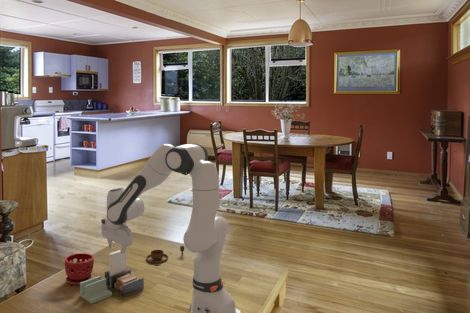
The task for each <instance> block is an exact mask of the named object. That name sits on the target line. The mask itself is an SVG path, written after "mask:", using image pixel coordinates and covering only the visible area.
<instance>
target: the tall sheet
mask: <svg viewBox="0 0 470 313" xmlns="http://www.w3.org/2000/svg"><path fill="white" fill-rule="evenodd" d="M108 264H109V265H108V270H109V276H112V275H115V274H118V273H120V272H123V271H126V270H127V251H126V252H125V253H124V254H122V253H121V251H120V249H118V250H116V251H112V252H110V253H108Z"/></svg>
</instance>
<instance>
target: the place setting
mask: <svg viewBox="0 0 470 313" xmlns="http://www.w3.org/2000/svg"><path fill="white" fill-rule="evenodd" d="M179 250H180V252H181V257H183V256H184V252H185V245H180V246H179ZM170 255H172V253H171V252H170ZM163 257H165V259H163ZM149 259H152V260H149ZM162 259H163V260H162ZM168 259H169V256H168V254H166V253H164V250H162V249H154V250H151V251H150V254H149V255H147V256H146V261H147V262H148V265H149V266H160V265H161V264H162V263H164V262H166V261H168ZM150 263H151V264H150Z"/></svg>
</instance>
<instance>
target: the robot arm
mask: <svg viewBox="0 0 470 313" xmlns="http://www.w3.org/2000/svg"><path fill="white" fill-rule="evenodd" d="M208 152H209V151H208V150H207V148H206V147H205V146H203V145H202V144H200V143H192V144H191V143H185V144H180V145H175V146H174V145H172V144H170V143H163V144H161V145H160V146H158V148H157V149H156V150H155V151H153V153H152V154H151V156H150V157H149V158H148V160H147V162H146V163H145V165H144V166H143V167H142V168H141V170H140V171H139V173H138V174H137V175H135V177H134V178H133V180H131V182H130V183H129V184H128V185H127V186H126V188H124V187H117V188H113V189H110V190H109V191H108V192H107V195H106V217H104V218H101V219H100V222H101V223H100V224H101V235H102V237H103V238H105V239H107V244H108V249H109V248H110V249H114V247H115V246H114V243H116V244H119V245H121V249H119V250H120V251H121V253H122V254H124V253H125V252H126V253H127V247H130V246H132V245H133V243H134V240H133V231H132V230H131V229H130V226H129V225H127V224H128V223H127V222H129V221H132V220H134V219H137V218H138V217H140V216H142V215H143V214H144V211H145V203H144V201H143V200H142V199H141V198H140V196H141V195H142V194H144V193H145V192H147V191H149V190H151V189H153V188H156V187H158V186H160V185H162V184H163V183H164V182H165V181H166V180H167V179H168V178H169V176H170V175H171V173H172V172H175V173H178V174H181V175H184V176H188V175H190V177H191V185H192V187H191V188H192V190H191V191H192V210H191V215H190V220H189V222H188V227H187V229H186V231H185V232H184V234H183V239H182V240H183V244H184V245H183V246H184V247H185V248H186V250H188V251H189V252H191V253H196V255H195V257H194V259H193V276H192V288H193V289H192V297H191V302H190V306H189V313H242V312H241V310H240V309H238V308H236V302H235V300H234V299H235V298H233V297H232V295H231V293H229V292H228V290H227V289H226V288H225V287H224V285H225V281H222V280H223V279H222V277H221V259H222V253H223V249H224V246H225V245H224V244H225V241H226V238H227V236H228V234H229V231H230V224H229V222H228V220H227V219H226V218H225V217H223V216H220V215H217V212H218V211H219V208H220V204H221V203H220V199H221V197H220V180H219V179H220V178H219V175H218V174H219V173H218V169H217V166H216V164H215V163H214V162H213V161H209V159H208V158H209V153H208ZM113 242H114V243H113Z"/></svg>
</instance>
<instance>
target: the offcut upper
mask: <svg viewBox="0 0 470 313" xmlns="http://www.w3.org/2000/svg"><path fill="white" fill-rule="evenodd" d="M136 279H138V277H137V276H135V275H134V274H133V275H132V273H131V274H127V275H125V276H122V277H119V278H117V283H118V284H120V285H124V284H126V283H129V282H131V281H134V280H136Z"/></svg>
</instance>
